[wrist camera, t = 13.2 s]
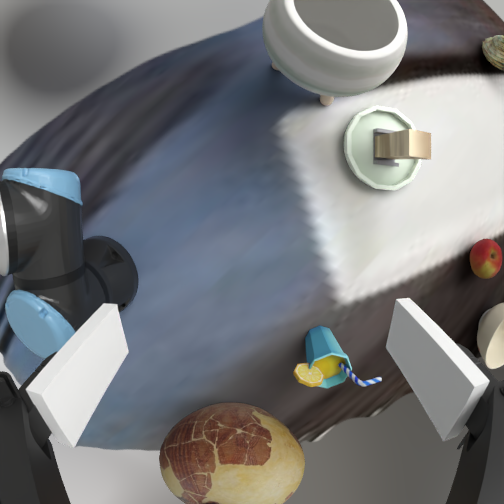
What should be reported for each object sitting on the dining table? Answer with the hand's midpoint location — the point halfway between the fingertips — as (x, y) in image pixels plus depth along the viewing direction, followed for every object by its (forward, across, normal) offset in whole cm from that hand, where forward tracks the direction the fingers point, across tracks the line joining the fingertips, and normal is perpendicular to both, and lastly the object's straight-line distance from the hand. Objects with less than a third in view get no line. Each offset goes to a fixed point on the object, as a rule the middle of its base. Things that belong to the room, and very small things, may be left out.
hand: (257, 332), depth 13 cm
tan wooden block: (+34, +22, +11) cm, 42 cm away
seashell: (+34, +54, +37) cm, 74 cm away
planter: (+36, +10, +24) cm, 44 cm away
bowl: (+34, +57, -25) cm, 71 cm away
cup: (+35, +13, -24) cm, 44 cm away
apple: (+34, +46, -8) cm, 58 cm away
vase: (+36, -5, -45) cm, 58 cm away
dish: (+35, +22, +11) cm, 43 cm away
